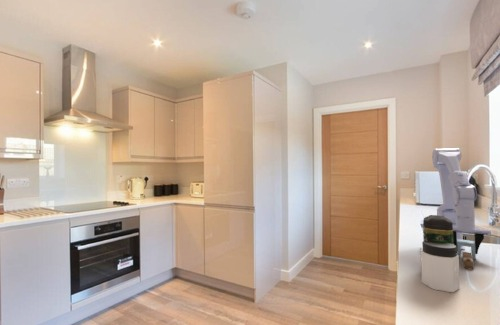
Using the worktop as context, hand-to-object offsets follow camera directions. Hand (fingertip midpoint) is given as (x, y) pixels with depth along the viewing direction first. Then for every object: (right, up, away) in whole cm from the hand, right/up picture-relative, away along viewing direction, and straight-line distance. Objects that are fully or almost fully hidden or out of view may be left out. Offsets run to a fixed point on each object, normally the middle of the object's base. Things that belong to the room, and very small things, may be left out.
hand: (466, 252), depth 100 cm
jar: (-29, -1, -25) cm, 38 cm away
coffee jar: (-23, -2, -16) cm, 28 cm away
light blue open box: (0, -1, 0) cm, 1 cm away
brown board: (-6, -2, -8) cm, 10 cm away
